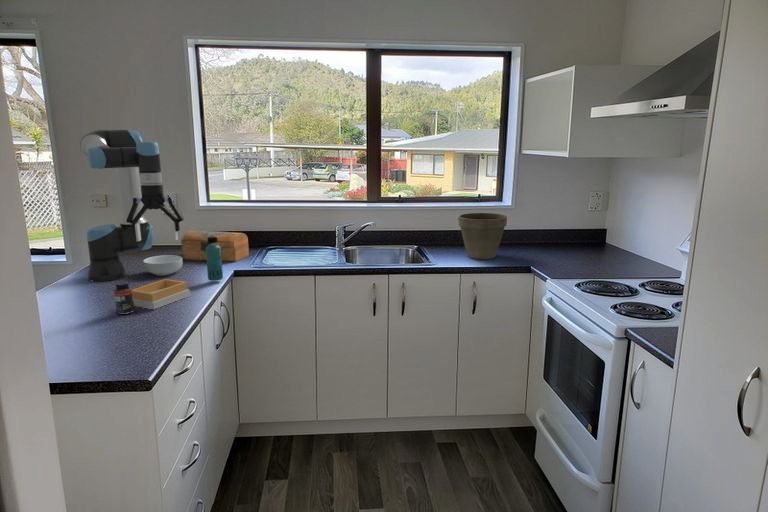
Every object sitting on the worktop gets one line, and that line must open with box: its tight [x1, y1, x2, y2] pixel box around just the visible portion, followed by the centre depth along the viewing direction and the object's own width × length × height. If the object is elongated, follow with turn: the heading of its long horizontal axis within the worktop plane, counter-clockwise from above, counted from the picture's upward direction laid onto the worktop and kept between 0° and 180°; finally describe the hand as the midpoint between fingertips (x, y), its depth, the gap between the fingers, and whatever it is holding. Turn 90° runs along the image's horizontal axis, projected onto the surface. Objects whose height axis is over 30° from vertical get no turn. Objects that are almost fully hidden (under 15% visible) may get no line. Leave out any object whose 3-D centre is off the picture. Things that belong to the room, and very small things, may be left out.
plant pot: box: [457, 212, 508, 260], centre depth 269 cm, size 25×25×22 cm
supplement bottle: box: [113, 281, 136, 313], centre depth 187 cm, size 6×6×11 cm
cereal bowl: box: [142, 254, 183, 277], centre depth 239 cm, size 17×17×7 cm
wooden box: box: [180, 230, 250, 263], centre depth 269 cm, size 30×16×14 cm, turn 77°
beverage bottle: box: [206, 237, 224, 282], centre depth 224 cm, size 6×7×20 cm
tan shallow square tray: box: [132, 278, 191, 309], centre depth 201 cm, size 18×18×6 cm
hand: (157, 240), depth 197 cm, fingers open, 13 cm apart
